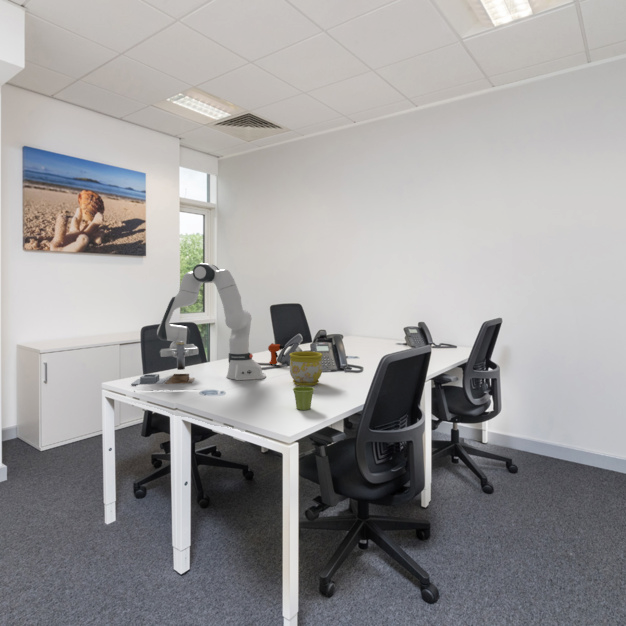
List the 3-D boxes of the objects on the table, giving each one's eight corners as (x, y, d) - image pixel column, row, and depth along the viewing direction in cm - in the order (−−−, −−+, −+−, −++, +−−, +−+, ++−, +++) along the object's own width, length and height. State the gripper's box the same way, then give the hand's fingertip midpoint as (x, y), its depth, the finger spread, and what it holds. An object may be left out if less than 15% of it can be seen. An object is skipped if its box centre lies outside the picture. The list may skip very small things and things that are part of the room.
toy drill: (290, 365, 281) (287, 342, 281) (267, 366, 291) (265, 344, 291) (294, 364, 285) (292, 341, 285) (272, 365, 295) (270, 343, 295)
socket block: (195, 379, 243) (195, 372, 243) (191, 385, 229) (191, 377, 229) (169, 379, 242) (169, 372, 241) (164, 385, 228) (164, 378, 227)
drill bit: (185, 368, 237) (184, 341, 236) (184, 369, 233) (183, 342, 232) (177, 368, 237) (177, 341, 236) (176, 369, 233) (175, 342, 232)
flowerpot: (322, 380, 244) (322, 351, 243) (322, 387, 226) (322, 356, 225) (290, 379, 245) (290, 351, 244) (288, 387, 227) (288, 356, 226)
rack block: (167, 380, 240) (167, 373, 240) (162, 385, 229) (162, 377, 228) (137, 380, 238) (137, 373, 238) (131, 385, 227) (131, 378, 226)
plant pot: (290, 406, 191) (290, 386, 190) (311, 405, 193) (311, 385, 192) (294, 412, 182) (294, 391, 181) (316, 410, 184) (316, 390, 183)
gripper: (159, 345, 242) (160, 349, 230) (196, 343, 250) (199, 346, 237) (159, 357, 243) (160, 360, 230) (196, 354, 250) (199, 358, 238)
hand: (180, 353), depth 234 cm, fingers closed on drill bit, 4 cm apart
